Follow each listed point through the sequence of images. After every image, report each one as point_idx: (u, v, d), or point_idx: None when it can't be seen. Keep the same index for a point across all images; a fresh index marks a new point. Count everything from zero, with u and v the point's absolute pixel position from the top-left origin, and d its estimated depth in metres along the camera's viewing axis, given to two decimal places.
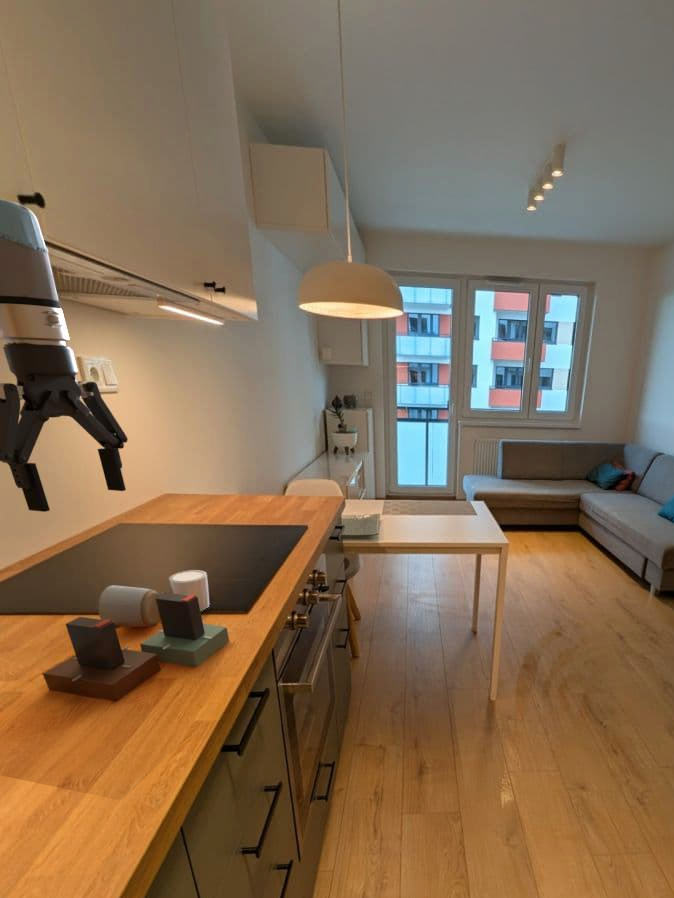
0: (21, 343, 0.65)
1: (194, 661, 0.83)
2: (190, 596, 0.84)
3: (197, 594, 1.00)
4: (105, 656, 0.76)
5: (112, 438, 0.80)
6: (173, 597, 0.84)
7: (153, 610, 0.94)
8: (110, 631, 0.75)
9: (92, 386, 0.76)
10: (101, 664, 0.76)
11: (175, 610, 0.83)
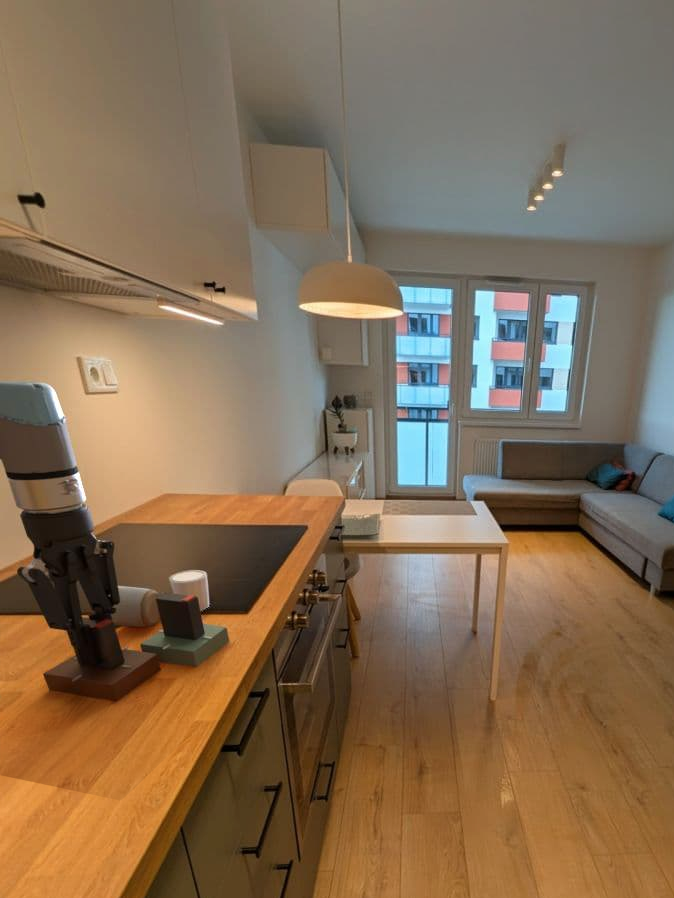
0: (38, 513, 0.65)
1: (194, 661, 0.83)
2: (190, 596, 0.84)
3: (197, 594, 1.00)
4: (105, 656, 0.76)
5: (107, 602, 0.76)
6: (173, 597, 0.84)
7: (153, 610, 0.94)
8: (110, 631, 0.75)
9: (109, 545, 0.76)
10: (101, 664, 0.76)
11: (175, 610, 0.83)
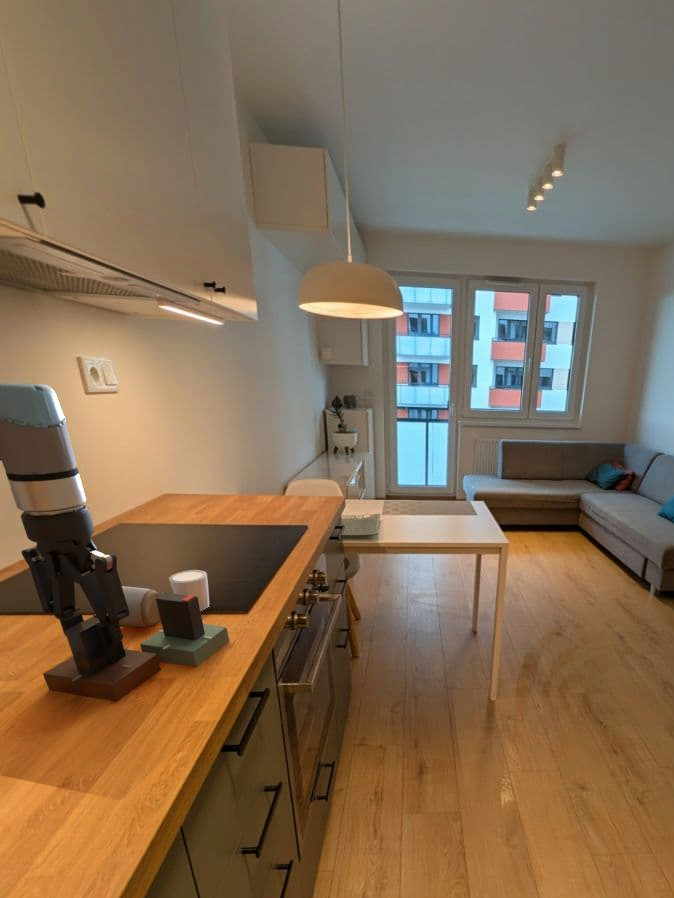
0: (79, 509, 0.68)
1: (194, 661, 0.83)
2: (190, 596, 0.84)
3: (197, 594, 1.00)
4: None
5: None
6: (173, 597, 0.84)
7: (153, 610, 0.94)
8: None
9: None
10: None
11: (175, 610, 0.83)
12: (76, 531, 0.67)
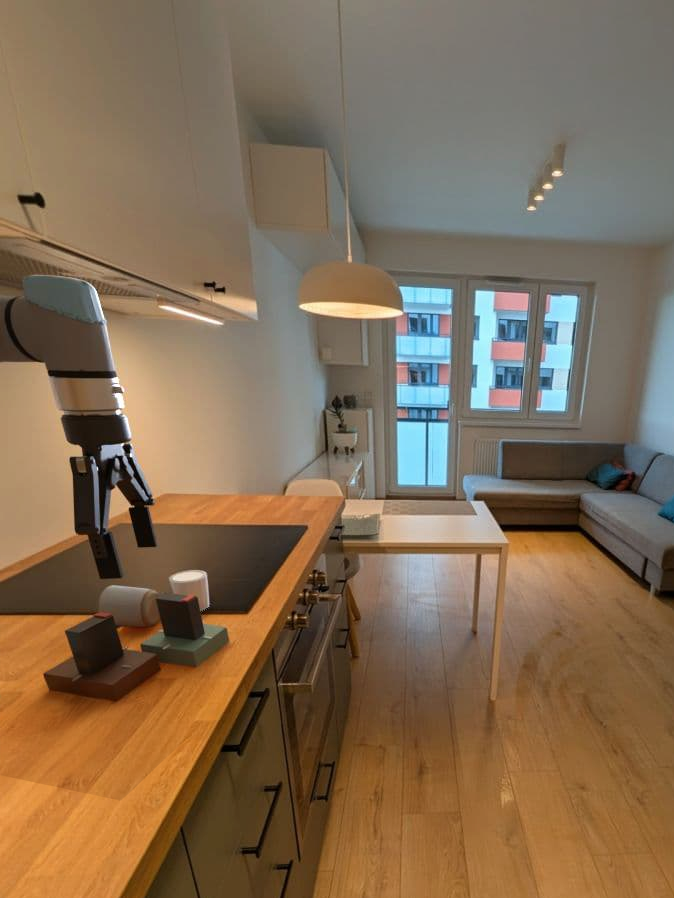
0: (90, 415, 0.66)
1: (194, 661, 0.83)
2: (190, 596, 0.84)
3: (197, 594, 1.00)
4: (118, 643, 0.79)
5: (145, 496, 0.80)
6: (173, 597, 0.84)
7: (153, 610, 0.94)
8: None
9: (130, 448, 0.76)
10: (114, 655, 0.79)
11: (175, 610, 0.83)
12: (77, 436, 0.66)
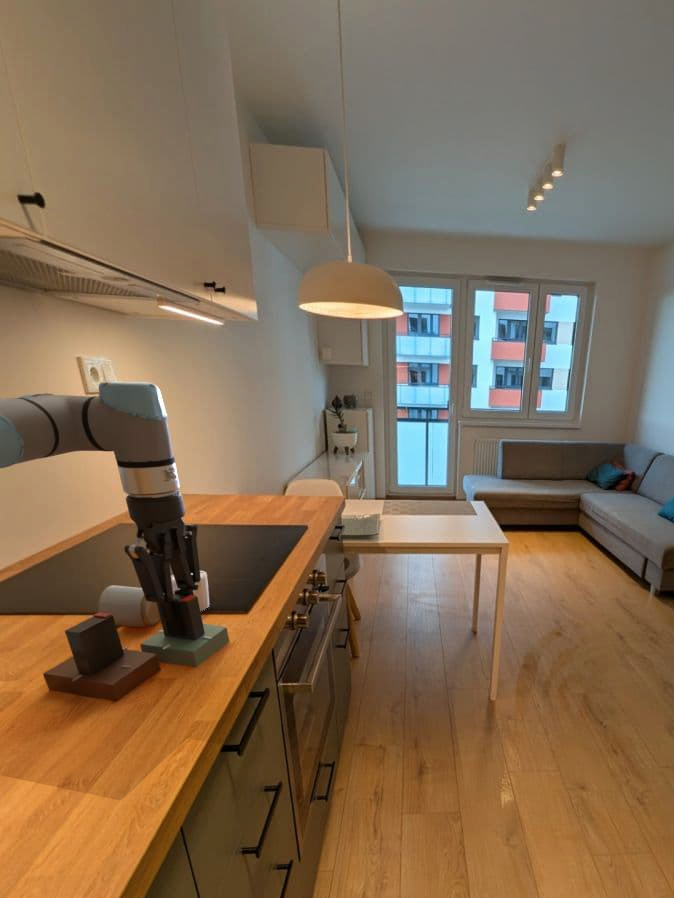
0: (143, 498, 0.74)
1: (194, 661, 0.83)
2: (190, 596, 0.84)
3: (197, 594, 1.00)
4: (118, 643, 0.79)
5: (191, 580, 0.85)
6: (173, 597, 0.84)
7: (153, 610, 0.94)
8: None
9: (193, 528, 0.84)
10: (114, 655, 0.79)
11: None
12: (133, 515, 0.75)
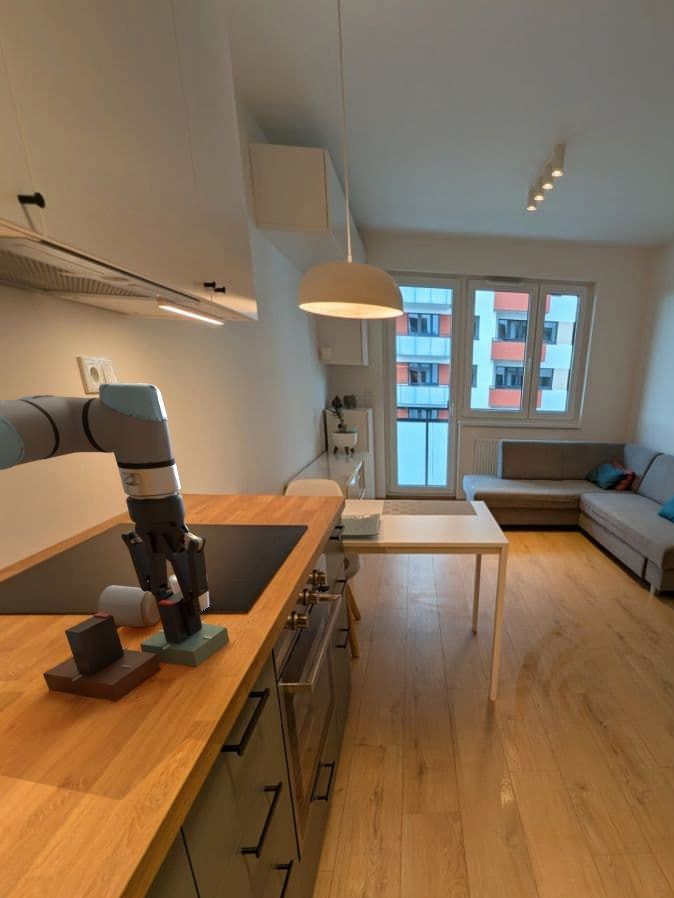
0: None
1: (194, 661, 0.83)
2: (169, 602, 0.82)
3: None
4: (118, 643, 0.79)
5: (185, 590, 0.81)
6: (177, 596, 0.84)
7: (153, 610, 0.94)
8: None
9: (190, 543, 0.77)
10: (114, 655, 0.79)
11: None
12: None
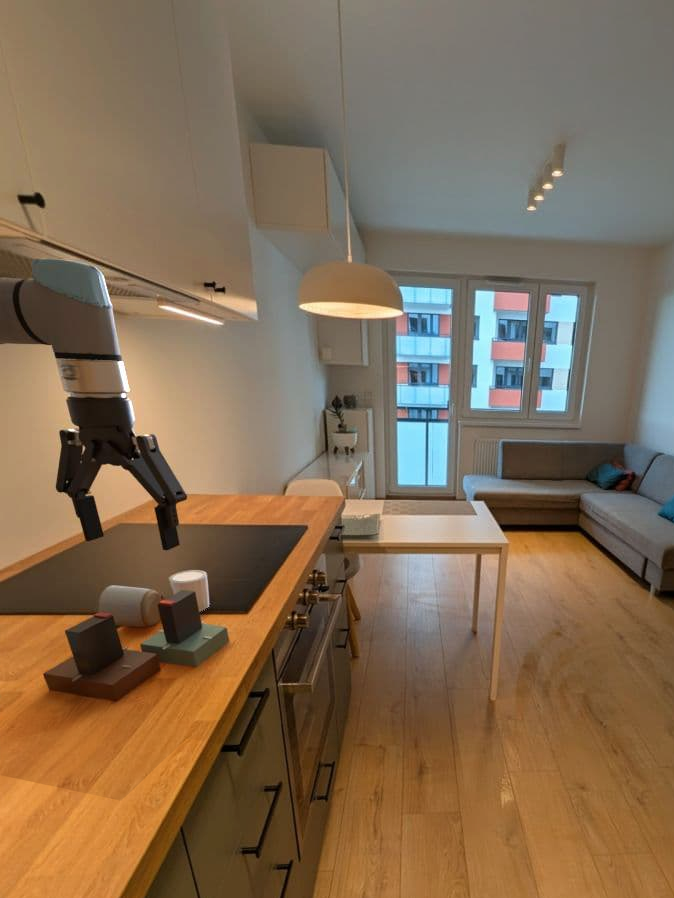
0: None
1: (194, 661, 0.83)
2: (169, 602, 0.82)
3: (197, 594, 1.00)
4: (118, 643, 0.79)
5: (157, 496, 0.73)
6: (177, 596, 0.84)
7: (153, 610, 0.94)
8: None
9: (137, 440, 0.70)
10: (114, 655, 0.79)
11: None
12: None
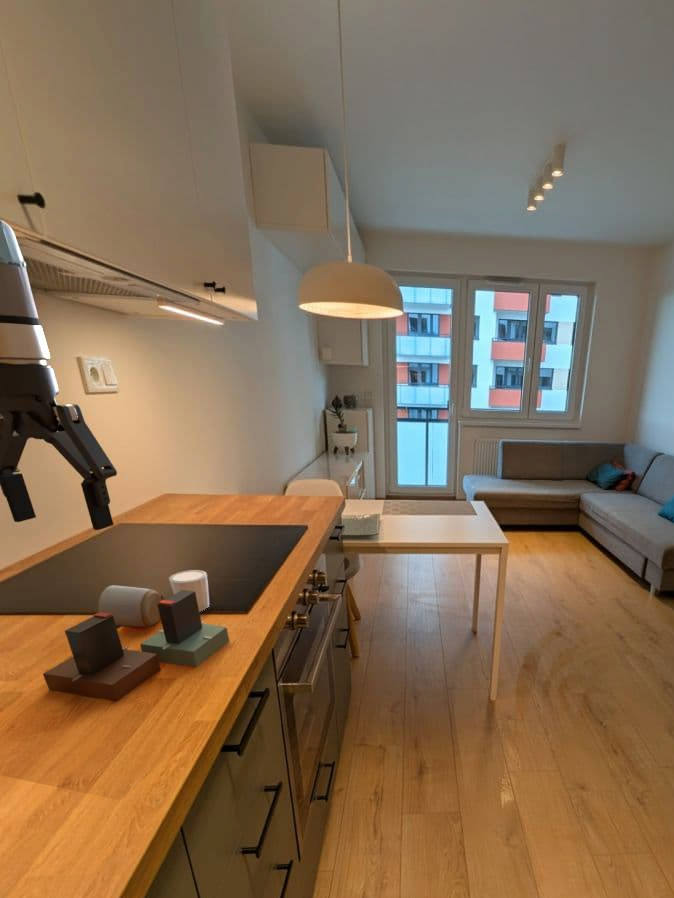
0: None
1: (194, 661, 0.83)
2: (169, 602, 0.82)
3: (197, 594, 1.00)
4: (118, 643, 0.79)
5: (83, 471, 0.68)
6: (177, 596, 0.84)
7: (153, 610, 0.94)
8: None
9: (58, 410, 0.65)
10: (114, 655, 0.79)
11: None
12: None
